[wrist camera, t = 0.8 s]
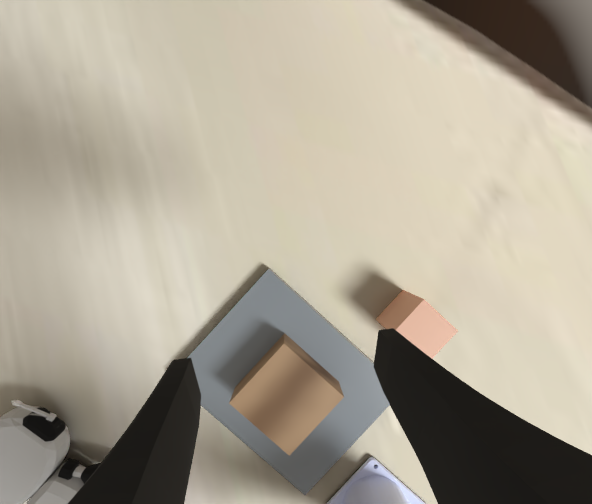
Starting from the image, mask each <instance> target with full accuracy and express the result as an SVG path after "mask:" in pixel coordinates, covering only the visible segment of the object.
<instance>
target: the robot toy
mask: <svg viewBox="0 0 592 504" xmlns="http://www.w3.org/2000/svg"><path fill="white" fill-rule="evenodd" d="M11 402H12V405H14V406H17V408H15V409H12V410H10V411H9V412H7V413H5V414H4V415H2V416H1V417H0V504H23V503H24V502H26V501H27V500H28V499H29V498H31V499H30V500H29V501H28V502H27V504H68V502H69V501H70V500H71V499H72V498H73V497H74V496H75V494H76V493H77V492H78V491H79V490H80V488H81V487H82V486H83V485H84V484H85V482H86V481H87V480H88V479H89V478H90V476H91V475H92V474H93V473H94V472H95V470H96V469H97V468H98V467H99V465H100V464H101V463H98V464H95V465H92V466H89V467H87V468H86V467H84V466H82V465H80V464H79V461H77V460H72V459H69V460H68V461H66V462H65V463H63V464H62V465H61V463H62V462H63V460H64V458H65V456H66V454H67V452H68V450H69V447H70V434H69V430H68V427H67V426H66V425H65V423H64V422H63V421H62V420H60V419H59V418H58V417H56V416H57V415H56V414H54V413H52V412H50V411H48V410H47V409H45V408H42V407H39V406H29V405H27V404H24V403H22V401H19V400H11ZM18 406H19V407H18ZM60 465H61V466H60ZM59 466H60V467H59ZM58 467H59V468H58Z"/></svg>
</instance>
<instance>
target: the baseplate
mask: <svg viewBox="0 0 592 504" xmlns="http://www.w3.org/2000/svg"><path fill="white" fill-rule="evenodd" d="M284 333H285V334H286V335H287V336H289V337H290V338H291V339H292V340H293V341H294V342H295V343H296V344H298V345H299V346H300V347H301V348H302V349H303V350H304V351H305V352H306V353H308V354H309V355H310V356H311V357H312V358H313V359H314V360H315V361H316V362H318V363H319V364H320V365H321V366H322V367H323V368H324V369H325V370H327V371H328V372H329V373H330V374H331V375H332V376H333V377H334V378H335V379H337V380H338V381H339V384H340V387H341V390H342V392H343V395H344V398H343V399H342V400H341V401H340V402H339V403H338V404H337V405H336V406H335V407H334V408H333V409H332V411H331V412H330V413H329V414H328V415H327V416H326V417H325V418H324V419H323V420H322V421H321V422H320V423H319V425H318V426H317V427H316V428H315V429H314V430H313V431H312V432H311V433H310V434H309V435H308V436H307V437H306V438H305V440H304V441H303V442H302V443H301V444H300V445H299V446H298V447H297V448H296V449H295V450H294V451H293V452H292V454H291V455H290V456H289V455H288V454H287V453H286V452H284V451H283V450H282V449H281V448H280V447H279V446H278V445H276V444H275V443H274V442H273V441H272V440H271V439H269V438H268V437H267V436H266V435H265V434H264V433H263V432H261V431H260V430H259V429H258V428H257V427H256V426H255V425H253V424H252V423H251V422H250V421H249V420H248V419H247V418H245V417H244V416H243V415H242V414H241V413H240V412H238V411H237V410H236V409H235V408H234V407H233V406H232V405H230V404H229V402H230V399H231V397H232V394H233V392H234V389H235V387H236V386H237V385H238V383H239V382H240V381H241V380H242V379H243V378H244V377H245V376H246V375H247V374H248V373H249V371H250V370H251V369H252V368H253V367H254V366H255V365H256V364H257V363H258V362H259V361H260V360H261V358H262V357H263V356H264V355H265V354H266V353H267V352H268V351H269V350H270V349H271V348H272V346H273V345H274V344H275V343H276V342H277V341H278V340H279V339H280V338H281V337H282V336H283V335H284ZM187 358H191V359H192V363H193V367H194V370H195V374H196V378H197V381H198V385H199V388H200V392H201V406H202V407H204V408H205V409H206V410H207V411H208V412H209V413H210V414H212V415H213V416H214V417H215V418H216V419H217V420H219V421H220V422H221V423H222V424H223V425H224V426H225V427H227V428H228V429H229V430H230V431H231V432H232V433H234V434H235V435H236V436H237V437H238V438H239V439H240V440H242V441H243V442H244V443H245V444H246V445H247V446H249V447H250V448H251V449H252V450H253V451H254V452H255V453H257V454H258V455H259V456H260V457H261V458H262V459H264V460H265V461H266V462H267V463H268V464H269V465H270V466H272V467H273V468H274V469H275V470H276V471H277V472H279V473H280V474H281V475H282V476H283V477H284V478H285V479H287V480H288V481H289V482H290V483H291V484H292V485H294V486H295V487H296V488H297V489H298V490H299V491H301V492H302V493H303V494H304V495H306V494H307V493H308V492H309V491H310V490H311V489H312V488H313V486H314V485H315V484H316V483H317V482H318V481H319V480H320V479H321V478H322V477H323V476H324V475H325V474H326V473H327V471H328V470H329V469H330V468H331V467H332V466H333V465H334V464H335V463H336V462H337V461H338V460H339V459H340V458H341V456H342V455H343V454H344V453H345V452H346V451H347V450H348V449H349V448H350V447H351V446H352V445H353V444H354V443H355V441H356V440H357V439H358V438H359V437H360V436H361V435H362V434H363V433H364V432H365V431H366V430H367V429H368V428H369V427H370V425H371V424H372V423H373V422H374V421H375V420H376V419H377V418H378V417H379V416H380V415H381V414H382V413H383V412H384V410H385V409H386V408H387V407H388V406H389V405H390V404H389V402H388V400H387V398H386V396H385V394H384V392H383V390H382V387H381V385H380V382H379V380H378V377H377V375H376V372H375V369H374V362H373V361H372V360H370V359H369V358H368V357H367V356H366V355H365V354H364V353H363V352H362V351H361V350H359V349H358V348H357V347H356V346H355V345H354V344H353V343H352V342H351V341H350V340H348V339H347V338H346V337H345V336H344V335H343V334H342V333H341V332H340V331H338V330H337V329H336V328H335V327H334V326H333V325H332V324H331V323H330V322H329V321H327V320H326V319H325V318H324V317H323V316H322V315H321V314H320V313H319V312H317V311H316V310H315V309H314V308H313V307H312V306H311V305H310V304H309V303H308V302H306V301H305V300H304V299H303V298H302V297H301V296H300V295H299V294H298V293H297V292H295V291H294V290H293V289H292V288H291V287H290V286H289V285H288V284H287V283H285V282H284V281H283V280H282V279H281V278H280V277H279V276H278V275H277V274H276V273H274V272H273V271H272V270H271V269H270V268H269V269H268V270H267V271H266V272H265V273H264V274H263V275H262V276H261V278H260V279H259V280H258V281H257V282H256V283H255V284H254V285H253V286H252V287H251V288H250V290H249V291H248V292H247V293H246V294H245V295H244V296H243V297H242V298H241V299H240V301H239V302H238V303H237V304H236V305H235V306H234V307H233V308H232V309H231V310H230V311H229V313H228V314H227V315H226V316H225V317H224V318H223V319H222V320H221V321H220V322H219V323H218V325H217V326H216V327H215V328H214V329H213V330H212V331H211V332H210V333H209V334H208V336H207V337H206V338H205V339H204V340H203V341H202V342H201V343H200V344H199V345H198V346H197V348H196V349H195V350H194V351H193V352H192V353H191V354H190V355H189V356H188V357H187Z"/></svg>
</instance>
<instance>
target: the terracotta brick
mask: <svg viewBox="0 0 592 504" xmlns="http://www.w3.org/2000/svg"><path fill="white" fill-rule="evenodd" d="M376 320H377V321H378V322H379V323H380V324H381V325H382V326H383V327H384V328H385V329H391V328H393V329H395V330H396V331H397V332H399V333H400V334H401V335H402V336H404V337H405V338H406V339H407V340H409V341H410V342H411V343H412V344H414V345H415V346H416V347H417V348H419V349H420V350H421V351H423V352H424V353H425V354H426V355H428V356H429V357H430V358H431V359H432V358H433V357H434V356H435V355H436V354H437V353H438V352H439V351H440V350H441V349H442V348H443V346H444V345H445V344H446V343H447V342H448V341H449V340H450V339H451V338H452V337H453V336H454V335H455V334H456V333H457V332H458V330H457V329H456V328H454V327H453V326H452V325H451V324H450V323H449V322H448V321H447V320H446V319H445V318H444V317H443V316H442V315H440V314H439V313H438V312H437V311H436V310H435V309H434V308H433V307H432V306H431V305H430V304H429V303H428V302H426V301H425V300H424V299H422V298H420V297H418V296H415V295H413V294H411V293H409V292H406V291H404V290H402V291H401V292H400V293H399V294H398V296H397V297H396V298H395V299H394V300H393V301H392V302H391V303H390V304H389V305H388V306H387V307H386V309H385V310H384V311H383V312H382V313H381V314H380V315H379V316H378V317H377V318H376Z"/></svg>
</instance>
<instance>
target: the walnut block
mask: <svg viewBox="0 0 592 504" xmlns="http://www.w3.org/2000/svg"><path fill="white" fill-rule="evenodd" d="M343 398H344V395H343V392H342V390H341V387H340V384H339V381H338V380H337V379H335V378H334V377H333V376H332V375H331V374H330V373H329V372H328V371H327V370H325V369H324V368H323V367H322V366H321V365H320V364H319V363H318V362H316V361H315V360H314V359H313V358H312V357H311V356H310V355H309V354H308V353H306V352H305V351H304V350H303V349H302V348H301V347H300V346H299V345H298V344H296V343H295V342H294V341H293V340H292V339H291V338H290V337H289V336H287V335H286V334H285V333H284V335H283V336H282V337H281V338H280V339H279V340H278V341H277V342H276V343H275V344H274V345H273V346H272V348H271V349H270V350H269V351H268V352H267V353H266V354H265V355H264V356H263V357H262V358H261V360H260V361H259V362H258V363H257V364H256V365H255V366H254V367H253V368H252V369H251V370H250V371H249V373H248V374H247V375H246V376H245V377H244V378H243V379H242V380H241V381H240V382H239V383H238V385H237V386H236V387H235V389H234V392H233V394H232V397H231V399H230V402H229V404H230V405H232V406H233V407H234V408H235V409H236V410H237V411H238V412H240V413H241V414H242V415H243V416H244V417H245V418H247V419H248V420H249V421H250V422H251V423H252V424H253V425H255V426H256V427H257V428H258V429H259V430H260V431H261V432H263V433H264V434H265V435H266V436H267V437H268V438H269V439H271V440H272V441H273V442H274V443H275V444H276V445H278V446H279V447H280V448H281V449H282V450H283V451H284V452H286V453H287V454H288V455H289V456H290V455H291V454H292V452H293V451H294V450H295V449H296V448H297V447H298V446H299V445H300V444H301V443H302V442H303V441H304V440H305V438H306V437H307V436H308V435H309V434H310V433H311V432H312V431H313V430H314V429H315V428H316V427H317V426H318V425H319V423H320V422H321V421H322V420H323V419H324V418H325V417H326V416H327V415H328V414H329V413H330V412H331V411H332V409H333V408H334V407H335V406H336V405H337V404H338V403H339V402H340V401H341V400H342V399H343Z"/></svg>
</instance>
